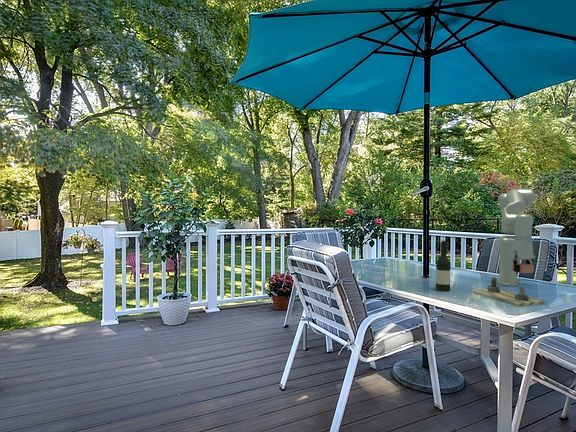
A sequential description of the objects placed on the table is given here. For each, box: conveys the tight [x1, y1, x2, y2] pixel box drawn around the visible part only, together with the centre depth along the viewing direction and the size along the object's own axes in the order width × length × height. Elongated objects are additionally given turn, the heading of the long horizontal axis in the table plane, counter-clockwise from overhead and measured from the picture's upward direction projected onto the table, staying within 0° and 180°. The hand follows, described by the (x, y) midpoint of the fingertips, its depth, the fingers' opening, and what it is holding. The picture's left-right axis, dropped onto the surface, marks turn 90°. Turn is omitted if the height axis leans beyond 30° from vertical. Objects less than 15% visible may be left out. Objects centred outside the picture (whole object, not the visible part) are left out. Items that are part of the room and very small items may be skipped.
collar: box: [512, 262, 535, 274], centre depth 195 cm, size 7×7×4 cm
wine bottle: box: [435, 240, 452, 293], centre depth 222 cm, size 8×8×30 cm
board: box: [472, 277, 546, 307], centre depth 204 cm, size 18×30×10 cm, turn 17°
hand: (522, 271), depth 195 cm, fingers closed on collar, 7 cm apart
